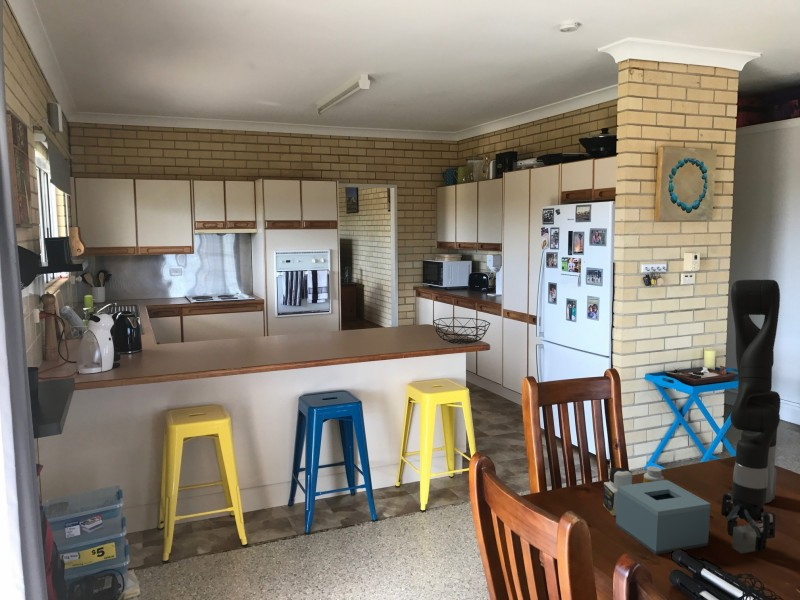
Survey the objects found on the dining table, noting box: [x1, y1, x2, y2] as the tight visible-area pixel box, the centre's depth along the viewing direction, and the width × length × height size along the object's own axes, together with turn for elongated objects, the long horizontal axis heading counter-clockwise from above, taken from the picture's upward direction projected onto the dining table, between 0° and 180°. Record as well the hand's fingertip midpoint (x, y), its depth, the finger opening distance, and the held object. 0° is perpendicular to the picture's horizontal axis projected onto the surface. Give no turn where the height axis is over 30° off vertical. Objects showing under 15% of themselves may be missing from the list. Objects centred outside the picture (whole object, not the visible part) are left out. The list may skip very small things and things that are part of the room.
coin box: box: [615, 479, 712, 555], centre depth 166 cm, size 16×16×11 cm
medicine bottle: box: [602, 467, 633, 517], centre depth 181 cm, size 7×7×12 cm
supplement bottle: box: [642, 465, 665, 483], centre depth 186 cm, size 6×6×10 cm
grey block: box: [731, 524, 757, 554], centre depth 159 cm, size 6×3×6 cm, turn 107°
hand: (745, 542), depth 159 cm, fingers open, 8 cm apart
